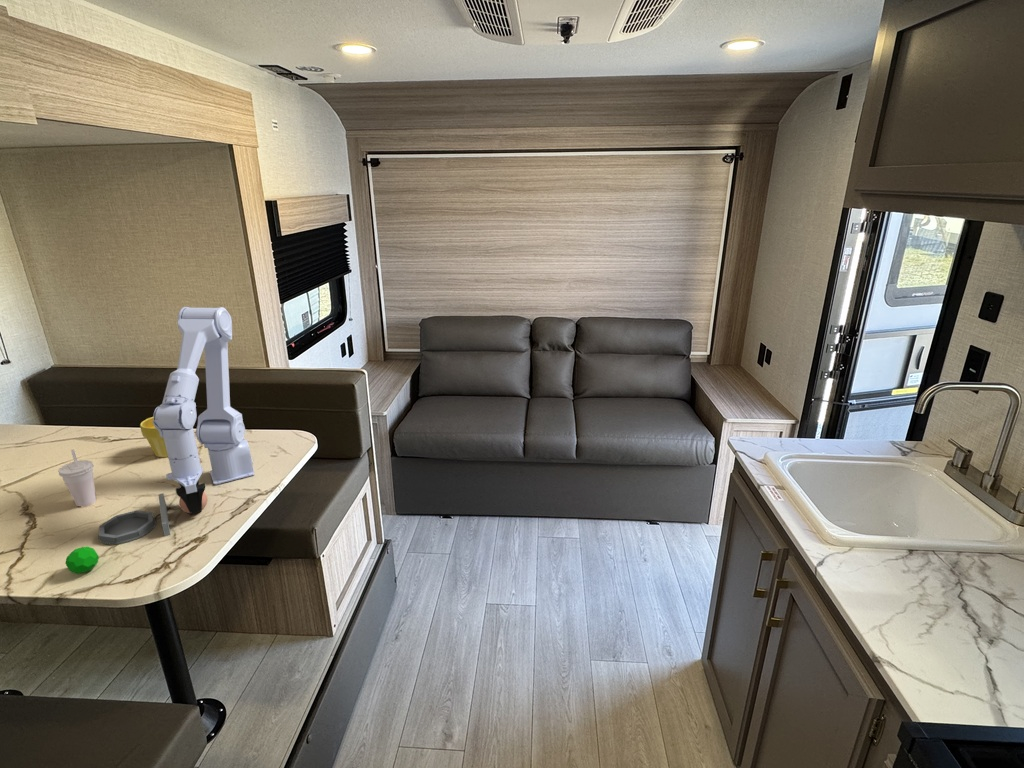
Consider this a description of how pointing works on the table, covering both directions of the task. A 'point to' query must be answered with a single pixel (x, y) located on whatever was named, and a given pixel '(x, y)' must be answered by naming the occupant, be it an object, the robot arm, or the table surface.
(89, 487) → the smoothie
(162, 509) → the low wall
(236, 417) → the robot arm
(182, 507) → the ball
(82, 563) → the polyhedron
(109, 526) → the gray octagonal bowl
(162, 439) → the plant pot
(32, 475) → the table surface
